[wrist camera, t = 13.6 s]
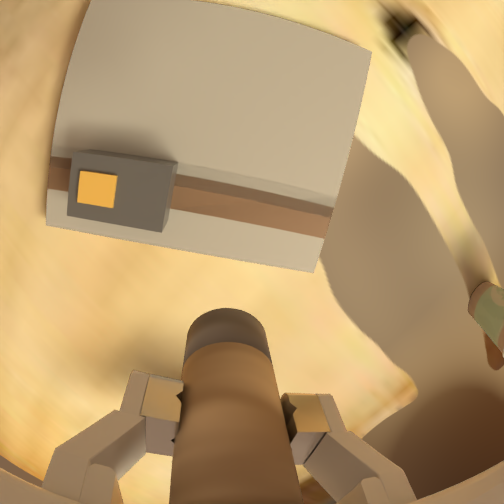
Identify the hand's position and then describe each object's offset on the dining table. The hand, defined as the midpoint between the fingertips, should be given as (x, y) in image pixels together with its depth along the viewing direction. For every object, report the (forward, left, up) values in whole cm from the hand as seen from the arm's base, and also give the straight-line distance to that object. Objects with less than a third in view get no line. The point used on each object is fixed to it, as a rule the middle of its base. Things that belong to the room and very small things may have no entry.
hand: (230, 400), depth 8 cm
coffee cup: (+40, -3, -21) cm, 45 cm away
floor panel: (-3, +8, -21) cm, 22 cm away
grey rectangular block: (-8, +2, -19) cm, 21 cm away
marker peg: (0, 0, -3) cm, 3 cm away
